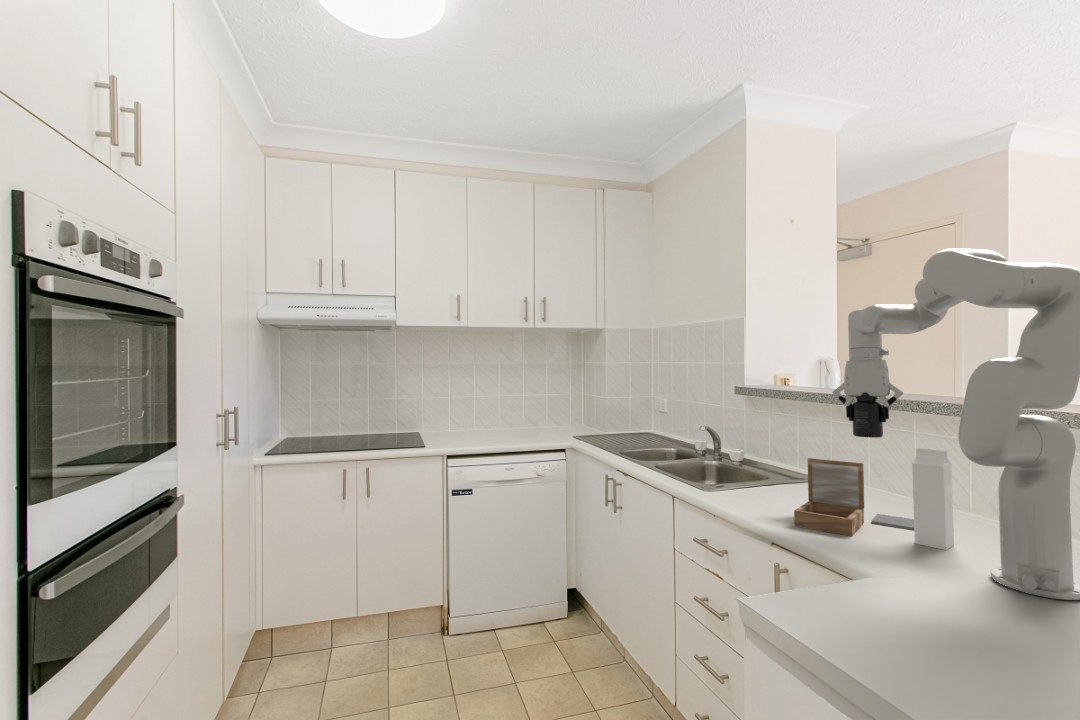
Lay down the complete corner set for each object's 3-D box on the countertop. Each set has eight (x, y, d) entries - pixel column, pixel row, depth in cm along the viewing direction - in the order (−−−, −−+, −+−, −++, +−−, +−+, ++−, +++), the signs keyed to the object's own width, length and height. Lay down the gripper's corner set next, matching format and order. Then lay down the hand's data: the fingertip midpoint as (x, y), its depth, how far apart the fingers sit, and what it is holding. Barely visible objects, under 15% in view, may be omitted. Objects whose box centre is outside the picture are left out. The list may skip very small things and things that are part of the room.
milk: (946, 550, 112) (943, 452, 113) (914, 543, 117) (911, 449, 118) (954, 545, 116) (951, 449, 116) (922, 538, 120) (920, 447, 121)
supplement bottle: (889, 438, 130) (887, 392, 131) (863, 438, 130) (862, 392, 131) (871, 435, 137) (870, 392, 138) (847, 435, 137) (845, 391, 138)
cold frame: (852, 536, 122) (851, 470, 123) (793, 525, 131) (792, 464, 132) (864, 523, 134) (863, 463, 134) (809, 514, 143) (808, 457, 143)
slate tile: (917, 530, 127) (917, 528, 127) (871, 523, 134) (871, 520, 134) (921, 522, 134) (921, 520, 134) (877, 515, 141) (877, 513, 141)
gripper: (906, 354, 132) (908, 422, 131) (831, 357, 143) (833, 419, 142) (903, 353, 126) (906, 423, 125) (826, 355, 138) (828, 420, 137)
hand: (867, 420), depth 134 cm, fingers closed on supplement bottle, 6 cm apart
